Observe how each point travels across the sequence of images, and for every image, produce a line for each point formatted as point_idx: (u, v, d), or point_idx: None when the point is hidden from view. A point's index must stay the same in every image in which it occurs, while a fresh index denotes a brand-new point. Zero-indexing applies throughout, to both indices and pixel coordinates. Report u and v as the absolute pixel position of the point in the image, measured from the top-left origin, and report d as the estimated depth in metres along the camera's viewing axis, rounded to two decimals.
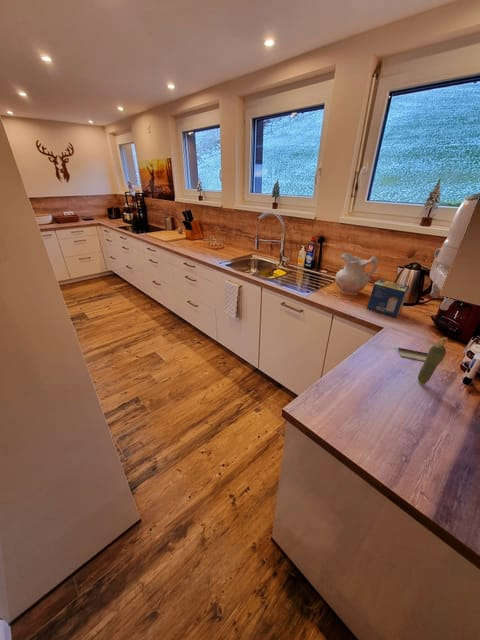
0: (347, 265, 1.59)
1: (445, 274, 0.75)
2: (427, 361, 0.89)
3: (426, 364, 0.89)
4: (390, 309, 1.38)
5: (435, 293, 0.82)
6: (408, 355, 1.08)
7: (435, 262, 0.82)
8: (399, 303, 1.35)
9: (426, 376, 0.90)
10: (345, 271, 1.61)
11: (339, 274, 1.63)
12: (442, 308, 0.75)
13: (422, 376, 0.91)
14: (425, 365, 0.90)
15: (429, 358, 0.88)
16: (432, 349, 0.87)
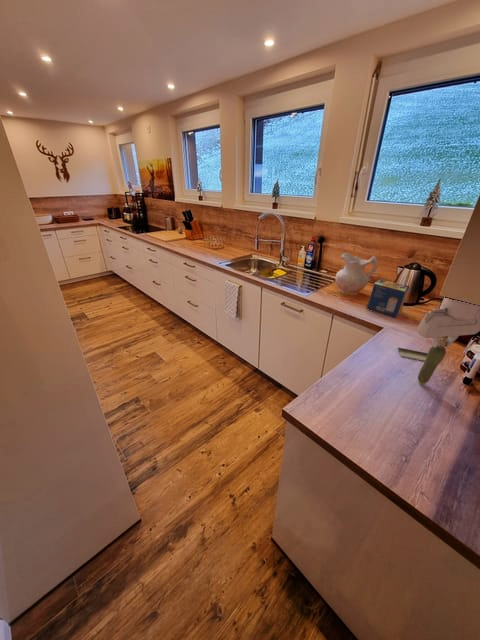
0: (347, 265, 1.59)
1: None
2: (427, 361, 0.89)
3: (426, 364, 0.89)
4: (390, 309, 1.38)
5: None
6: (408, 355, 1.08)
7: None
8: (399, 303, 1.35)
9: (426, 376, 0.90)
10: (345, 271, 1.61)
11: (339, 274, 1.63)
12: (432, 344, 0.86)
13: (422, 376, 0.91)
14: (425, 365, 0.90)
15: (429, 358, 0.88)
16: (432, 349, 0.87)
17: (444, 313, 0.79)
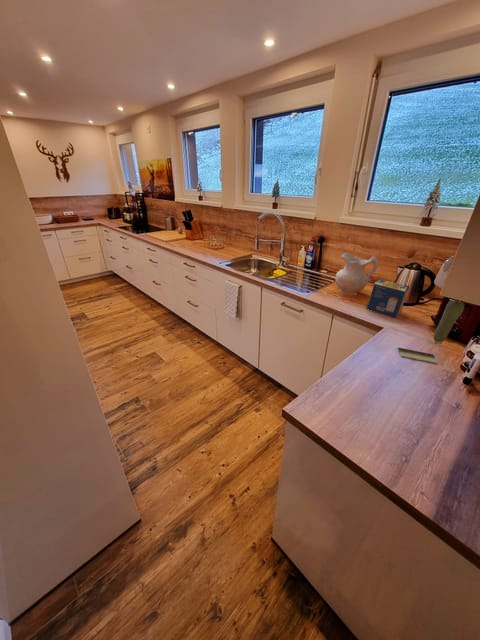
0: (347, 265, 1.59)
1: None
2: (444, 318, 0.84)
3: (443, 321, 0.85)
4: (390, 309, 1.38)
5: None
6: (408, 355, 1.08)
7: None
8: (399, 303, 1.35)
9: (443, 334, 0.85)
10: (345, 271, 1.61)
11: (339, 274, 1.63)
12: None
13: (439, 334, 0.86)
14: (442, 322, 0.85)
15: (446, 314, 0.83)
16: (449, 304, 0.82)
17: None
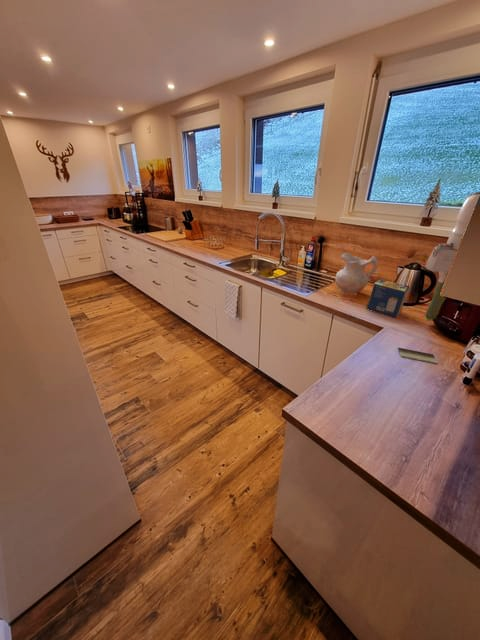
0: (347, 265, 1.59)
1: None
2: (434, 298, 0.99)
3: (433, 300, 0.99)
4: (390, 309, 1.38)
5: None
6: (408, 355, 1.08)
7: None
8: (399, 303, 1.35)
9: (433, 312, 1.00)
10: (345, 271, 1.61)
11: (339, 274, 1.63)
12: (439, 280, 0.95)
13: (430, 313, 1.01)
14: (432, 302, 1.00)
15: (436, 294, 0.98)
16: (439, 285, 0.96)
17: (450, 248, 0.89)
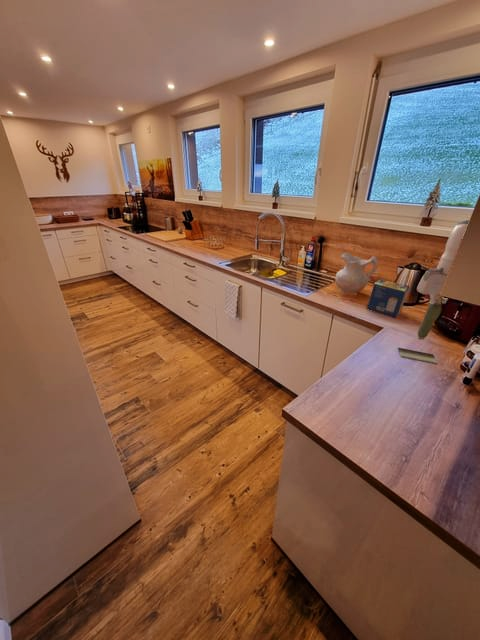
0: (347, 265, 1.59)
1: None
2: (425, 318, 1.03)
3: (425, 320, 1.03)
4: (390, 309, 1.38)
5: (441, 299, 0.99)
6: (408, 355, 1.08)
7: None
8: (399, 303, 1.35)
9: (425, 331, 1.04)
10: (345, 271, 1.61)
11: (339, 274, 1.63)
12: (430, 302, 0.99)
13: (421, 332, 1.05)
14: (424, 322, 1.04)
15: (427, 315, 1.02)
16: (430, 306, 1.00)
17: (440, 272, 0.93)
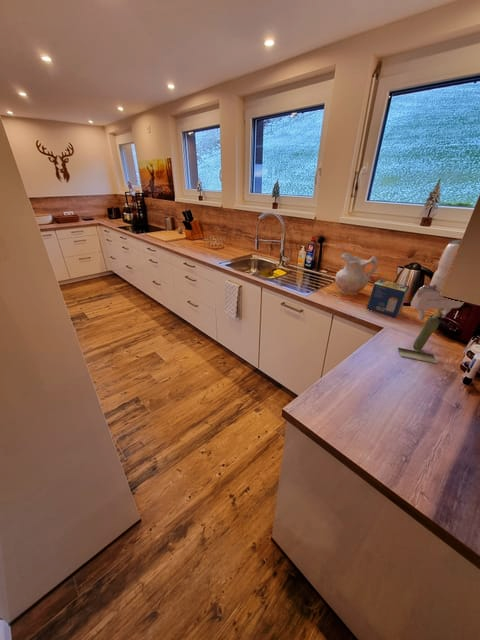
0: (347, 265, 1.59)
1: None
2: (423, 330, 1.07)
3: (422, 333, 1.07)
4: (390, 309, 1.38)
5: (440, 313, 1.03)
6: (408, 355, 1.08)
7: None
8: (399, 303, 1.35)
9: (421, 343, 1.07)
10: (345, 271, 1.61)
11: (339, 274, 1.63)
12: (418, 317, 1.02)
13: (417, 344, 1.08)
14: (421, 334, 1.07)
15: (425, 327, 1.06)
16: (428, 319, 1.04)
17: (433, 289, 0.96)
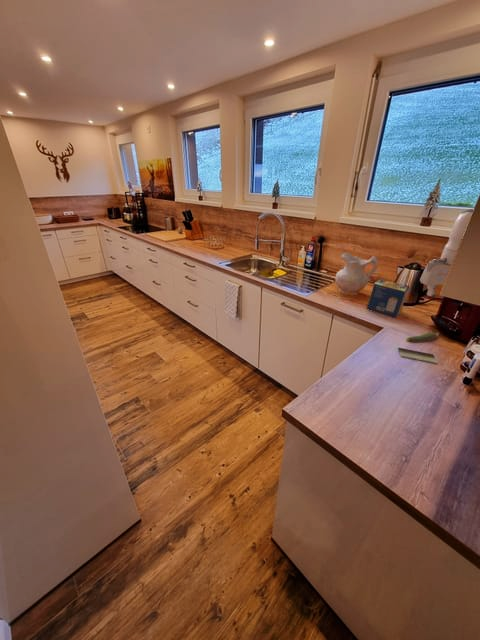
0: (347, 265, 1.59)
1: None
2: None
3: None
4: (390, 309, 1.38)
5: None
6: (408, 355, 1.08)
7: None
8: (399, 303, 1.35)
9: None
10: (345, 271, 1.61)
11: (339, 274, 1.63)
12: (427, 294, 0.97)
13: None
14: None
15: None
16: None
17: (443, 262, 0.91)
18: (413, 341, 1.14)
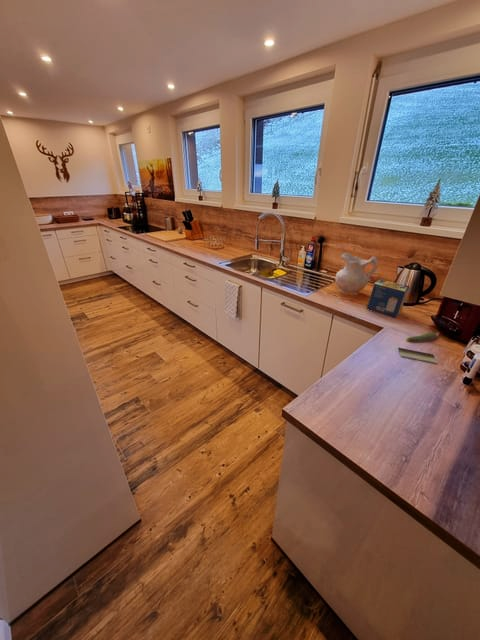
0: (347, 265, 1.59)
1: None
2: None
3: None
4: (390, 309, 1.38)
5: None
6: (408, 355, 1.08)
7: None
8: (399, 303, 1.35)
9: None
10: (345, 271, 1.61)
11: (339, 274, 1.63)
12: None
13: None
14: None
15: None
16: None
17: None
18: (413, 341, 1.14)
